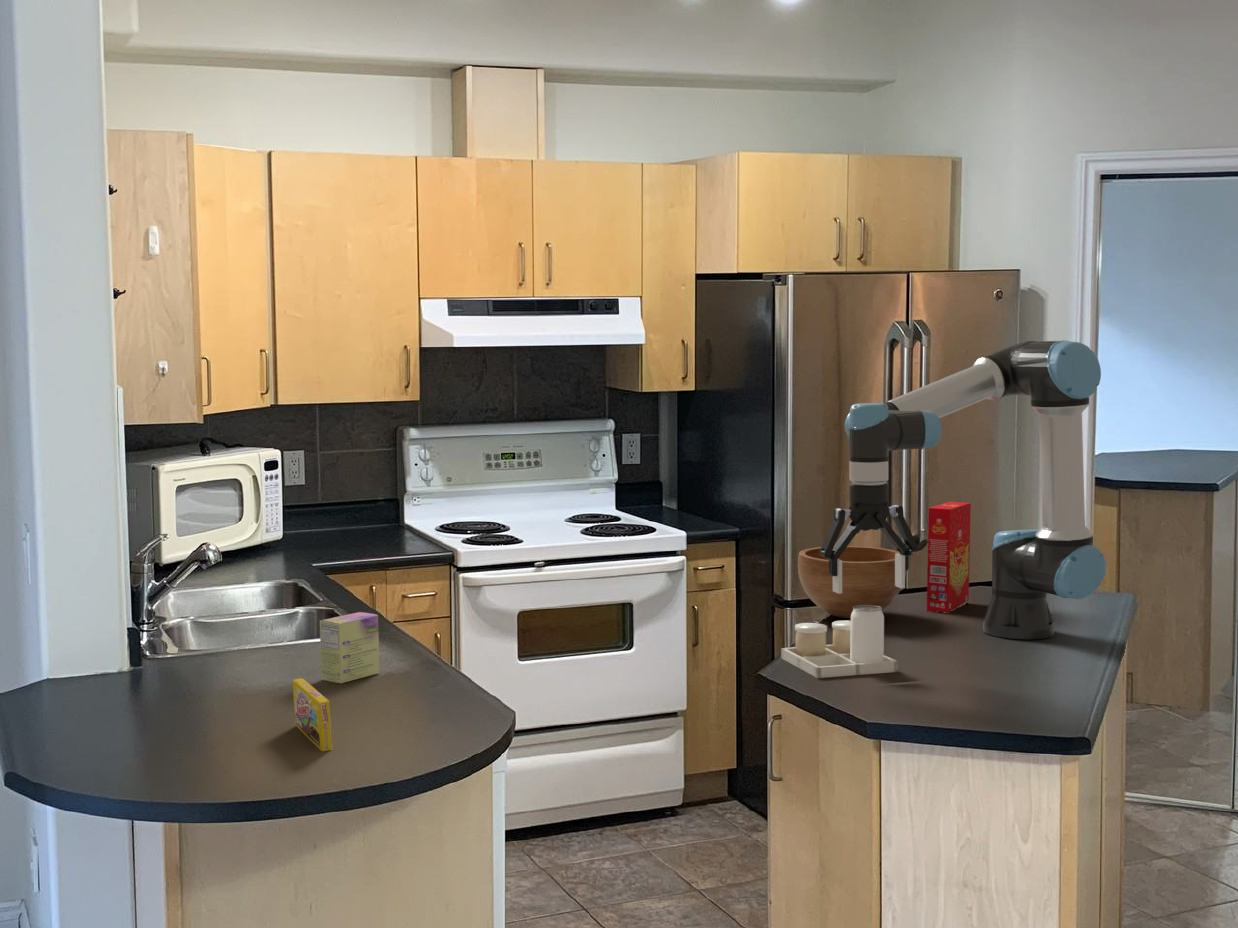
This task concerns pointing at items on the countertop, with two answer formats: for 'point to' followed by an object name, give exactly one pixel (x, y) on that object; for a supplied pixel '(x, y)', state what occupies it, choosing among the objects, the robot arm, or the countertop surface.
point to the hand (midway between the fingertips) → (868, 589)
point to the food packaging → (948, 556)
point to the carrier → (836, 664)
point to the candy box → (312, 714)
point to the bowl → (850, 579)
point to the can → (867, 634)
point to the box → (349, 647)
